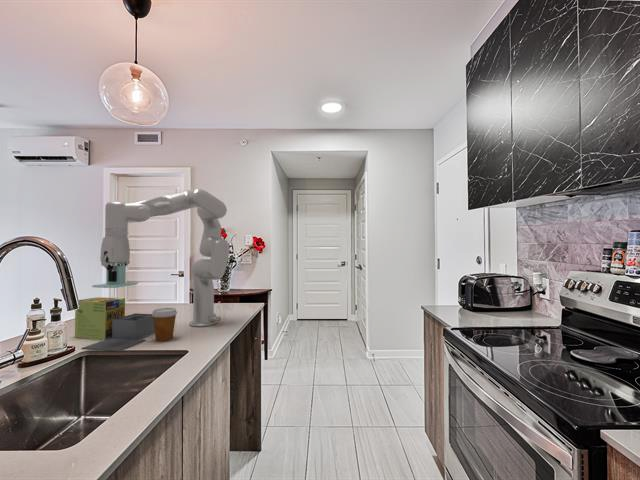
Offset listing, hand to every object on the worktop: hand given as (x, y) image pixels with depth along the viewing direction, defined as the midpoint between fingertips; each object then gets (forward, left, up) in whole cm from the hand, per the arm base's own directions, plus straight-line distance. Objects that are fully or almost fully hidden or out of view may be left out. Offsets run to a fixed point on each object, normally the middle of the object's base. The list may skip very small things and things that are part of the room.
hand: (115, 280), depth 128 cm
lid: (0, 0, -2) cm, 2 cm away
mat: (0, 0, -25) cm, 25 cm away
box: (+2, -13, -25) cm, 28 cm away
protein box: (+16, -10, -25) cm, 31 cm away
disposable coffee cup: (-14, -10, -25) cm, 30 cm away
